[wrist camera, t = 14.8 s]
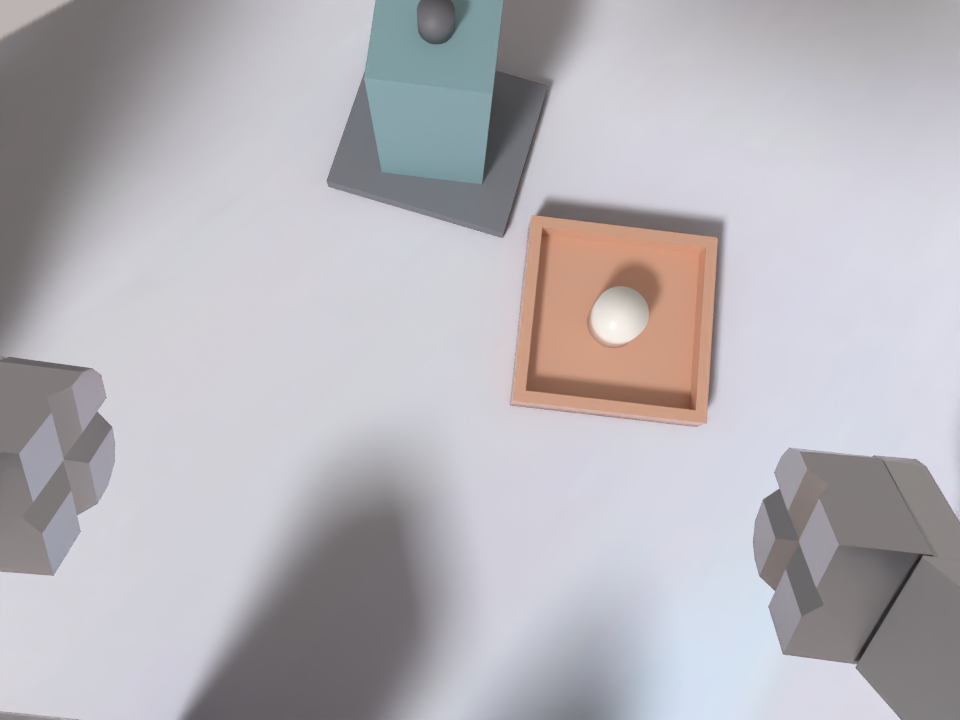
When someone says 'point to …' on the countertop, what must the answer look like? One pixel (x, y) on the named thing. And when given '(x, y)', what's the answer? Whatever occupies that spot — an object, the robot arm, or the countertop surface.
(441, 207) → the mat
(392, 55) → the cover
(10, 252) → the countertop surface
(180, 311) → the countertop surface
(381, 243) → the countertop surface
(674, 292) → the dish
